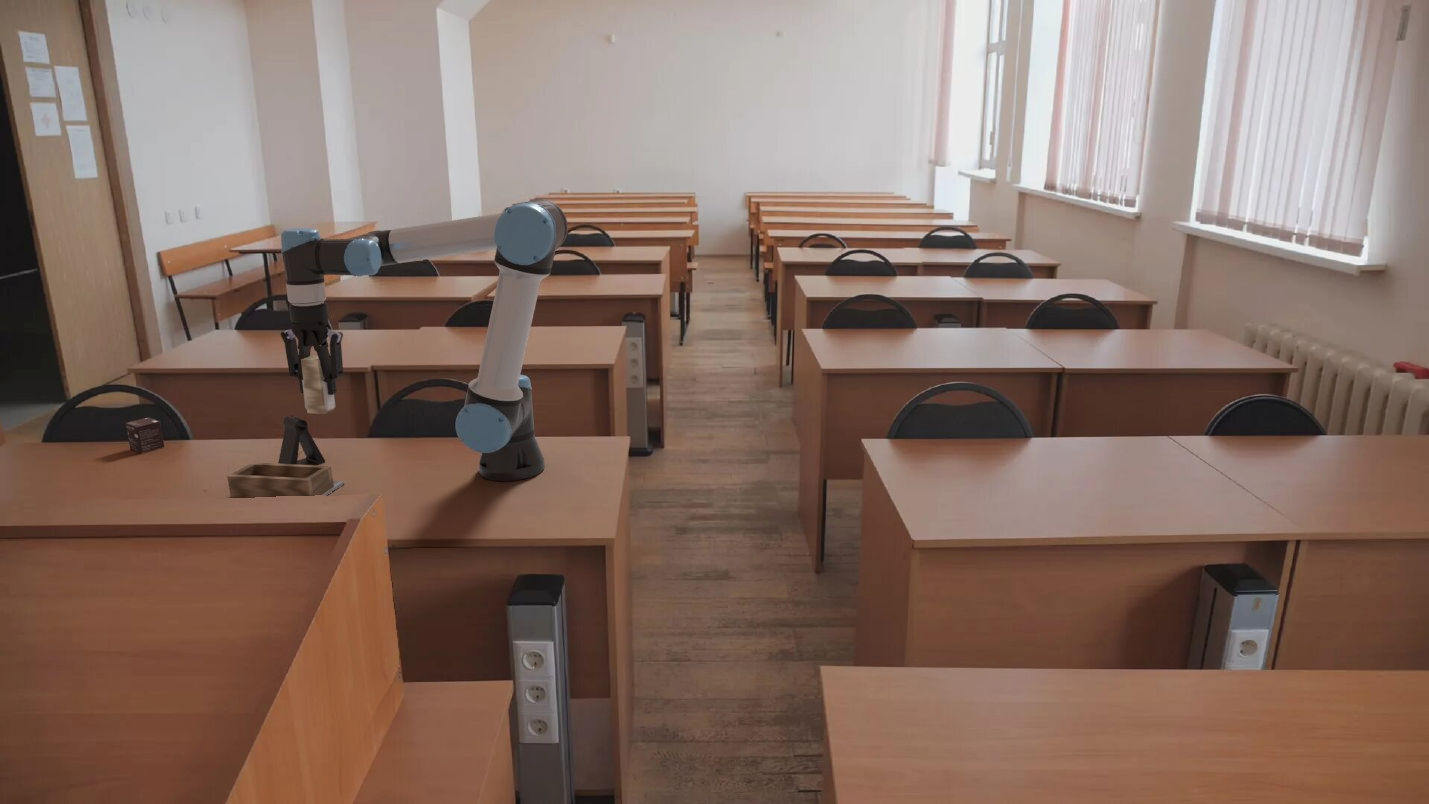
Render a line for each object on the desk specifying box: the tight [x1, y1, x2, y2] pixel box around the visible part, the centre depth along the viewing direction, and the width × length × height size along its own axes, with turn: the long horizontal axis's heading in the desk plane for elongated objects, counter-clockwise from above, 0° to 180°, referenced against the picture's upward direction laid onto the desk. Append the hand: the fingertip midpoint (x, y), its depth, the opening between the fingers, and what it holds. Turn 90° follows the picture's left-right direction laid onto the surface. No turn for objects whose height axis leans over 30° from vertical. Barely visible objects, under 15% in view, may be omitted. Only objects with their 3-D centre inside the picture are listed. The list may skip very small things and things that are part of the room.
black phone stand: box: [277, 414, 326, 466], centre depth 227 cm, size 9×6×12 cm, turn 138°
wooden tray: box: [226, 462, 345, 498], centre depth 208 cm, size 20×16×6 cm
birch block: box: [301, 354, 336, 415], centre depth 204 cm, size 4×4×12 cm
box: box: [125, 416, 165, 454], centre depth 242 cm, size 6×6×7 cm
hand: (320, 407), depth 206 cm, fingers closed on birch block, 4 cm apart
